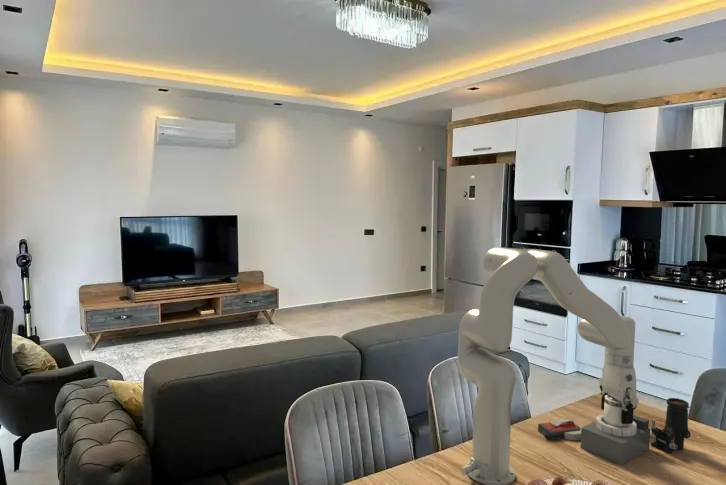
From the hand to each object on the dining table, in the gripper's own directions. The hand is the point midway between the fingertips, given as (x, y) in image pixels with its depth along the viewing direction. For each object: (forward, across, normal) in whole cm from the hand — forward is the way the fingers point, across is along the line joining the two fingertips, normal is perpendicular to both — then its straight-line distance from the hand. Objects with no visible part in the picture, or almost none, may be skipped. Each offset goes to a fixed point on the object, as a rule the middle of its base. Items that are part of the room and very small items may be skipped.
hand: (616, 416), depth 145 cm
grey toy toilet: (+10, 0, 0) cm, 10 cm away
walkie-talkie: (+10, +10, +8) cm, 17 cm away
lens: (+4, 0, 0) cm, 4 cm away
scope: (+10, -1, -17) cm, 20 cm away
